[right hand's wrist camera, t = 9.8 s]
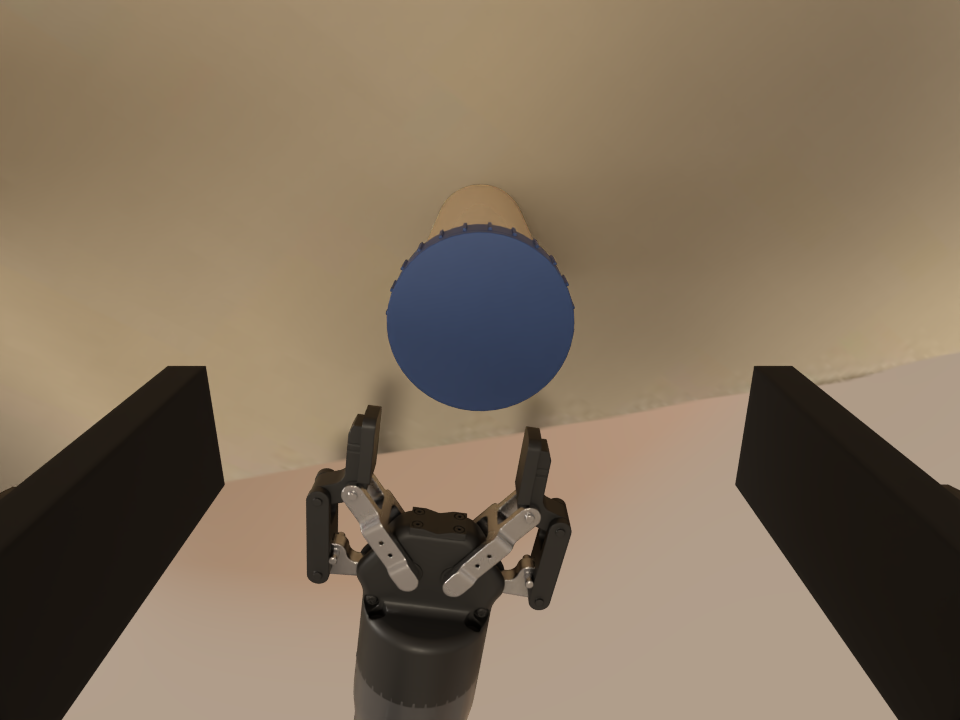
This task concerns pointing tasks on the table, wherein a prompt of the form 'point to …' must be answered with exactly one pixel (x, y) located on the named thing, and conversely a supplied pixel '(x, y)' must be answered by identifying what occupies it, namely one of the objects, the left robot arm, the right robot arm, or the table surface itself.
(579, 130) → the table surface
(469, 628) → the left robot arm
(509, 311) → the lid
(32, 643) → the right robot arm
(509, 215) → the jar
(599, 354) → the table surface
